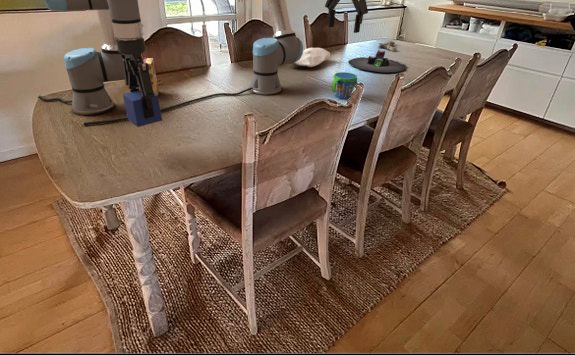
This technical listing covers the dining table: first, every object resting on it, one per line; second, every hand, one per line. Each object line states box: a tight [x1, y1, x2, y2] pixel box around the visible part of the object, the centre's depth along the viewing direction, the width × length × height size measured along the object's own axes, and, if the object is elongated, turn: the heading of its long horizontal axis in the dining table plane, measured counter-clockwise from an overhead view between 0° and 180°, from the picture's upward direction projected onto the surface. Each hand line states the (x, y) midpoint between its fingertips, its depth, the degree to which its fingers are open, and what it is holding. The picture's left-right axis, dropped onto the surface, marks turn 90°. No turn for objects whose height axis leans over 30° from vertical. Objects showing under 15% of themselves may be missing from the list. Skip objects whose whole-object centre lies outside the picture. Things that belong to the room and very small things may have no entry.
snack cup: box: [330, 71, 358, 100], centre depth 171 cm, size 16×10×10 cm
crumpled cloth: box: [290, 47, 331, 68], centre depth 217 cm, size 24×35×9 cm
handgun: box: [378, 40, 398, 52], centre depth 263 cm, size 3×18×15 cm
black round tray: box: [347, 49, 407, 74], centre depth 221 cm, size 35×35×9 cm
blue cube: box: [122, 89, 163, 128], centre depth 114 cm, size 8×7×8 cm
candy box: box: [143, 57, 160, 96], centre depth 163 cm, size 9×4×15 cm, turn 13°
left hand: (143, 112), depth 115 cm, fingers closed on blue cube, 7 cm apart
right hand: (343, 29), depth 149 cm, fingers open, 13 cm apart
